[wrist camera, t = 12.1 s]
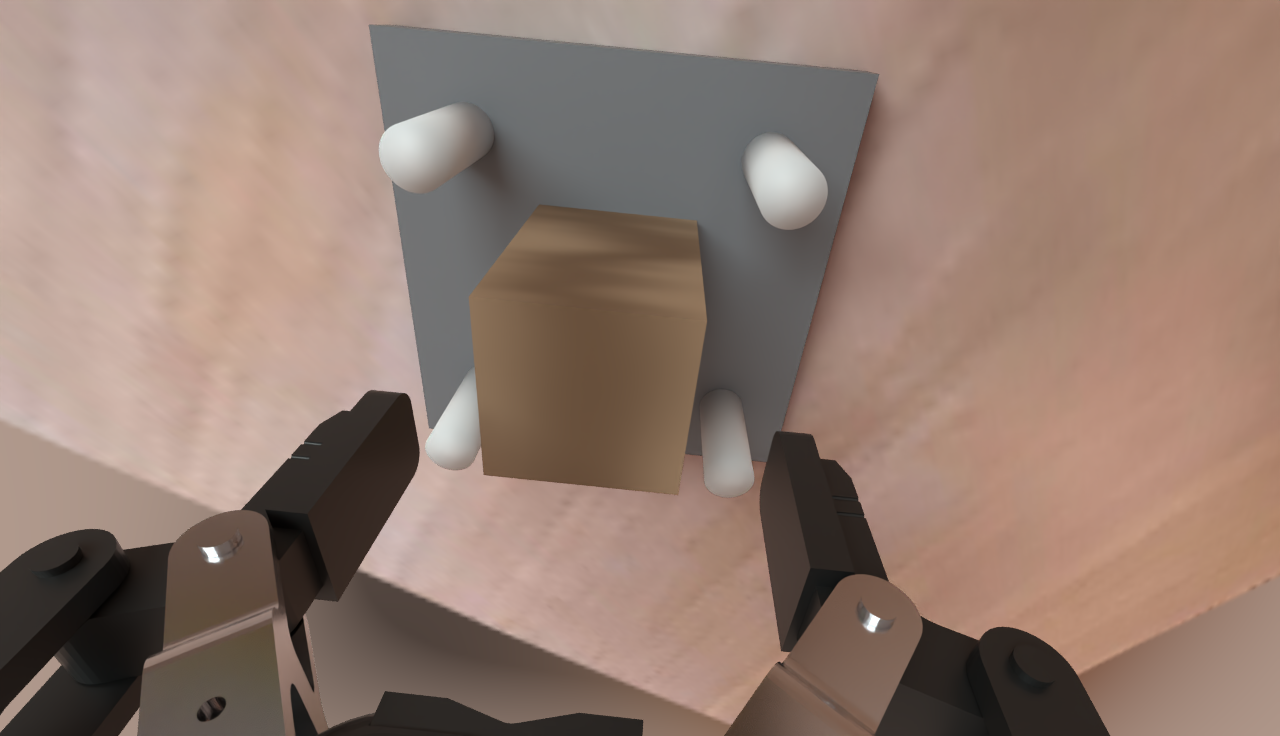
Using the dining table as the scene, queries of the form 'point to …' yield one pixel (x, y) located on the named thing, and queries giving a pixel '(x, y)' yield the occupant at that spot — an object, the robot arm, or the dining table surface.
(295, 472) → the robot arm
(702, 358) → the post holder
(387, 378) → the dining table surface
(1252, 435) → the dining table surface
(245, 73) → the dining table surface
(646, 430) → the walnut block
